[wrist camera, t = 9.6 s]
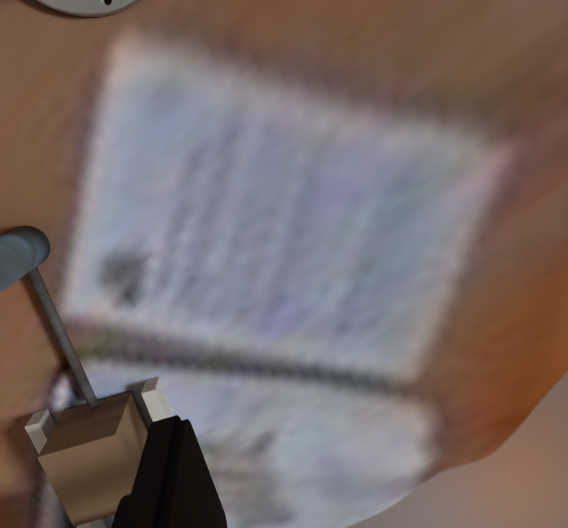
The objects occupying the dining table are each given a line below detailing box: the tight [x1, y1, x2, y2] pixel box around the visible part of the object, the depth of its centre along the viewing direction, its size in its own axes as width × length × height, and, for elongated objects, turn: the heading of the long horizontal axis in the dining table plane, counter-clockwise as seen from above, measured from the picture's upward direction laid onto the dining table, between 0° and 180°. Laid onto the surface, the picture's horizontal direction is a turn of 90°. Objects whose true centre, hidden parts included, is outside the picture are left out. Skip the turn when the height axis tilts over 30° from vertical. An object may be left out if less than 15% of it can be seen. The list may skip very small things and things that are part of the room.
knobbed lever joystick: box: [0, 226, 148, 527], centre depth 36 cm, size 23×6×6 cm, turn 15°
